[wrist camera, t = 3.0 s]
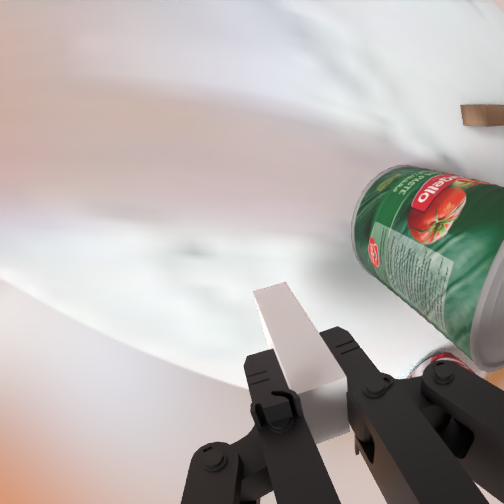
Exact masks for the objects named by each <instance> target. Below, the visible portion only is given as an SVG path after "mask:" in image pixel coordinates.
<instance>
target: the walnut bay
mask: <svg viewBox="0 0 504 504" xmlns="http://www.w3.org/2000/svg"><path fill="white" fill-rule="evenodd" d="M460 106H461V112H462V118H463V125H473V126H501V125H504V105H460Z"/></svg>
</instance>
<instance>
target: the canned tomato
mask: <svg viewBox="0 0 504 504" xmlns="http://www.w3.org/2000/svg"><path fill="white" fill-rule="evenodd" d="M351 239H352V245H353V250H354V252H355V255H356V257H357V259H358V261H359V262H360V264H361V266H362V267H363V268H364V269H365V270H366V271H367V272H368V273H369V274H371V275H372V276H374V277H376V278H377V279H378V280H379V281H380V282H381V283H382V284H384V285H385V286H387V287H388V288H389V289H390V290H391V291H393V292H394V293H395V294H396V295H397V296H399V297H400V298H401V299H402V300H403V301H404V302H406V303H407V304H408V305H409V306H410V307H411V308H413V309H414V310H416V311H417V312H418V313H419V315H421V316H423V317H424V318H425V319H426V320H427V321H428V322H429V323H431V324H432V325H433V326H434V327H435V328H436V329H437V330H438V331H440V332H441V333H442V334H443V335H444V336H445V337H446V338H447V339H449V340H450V341H451V342H453V343H454V345H455V346H456V347H457V348H459V349H460V350H461V351H462V352H464V353H465V354H466V355H467V356H468V357H469V358H470V359H472V360H473V362H474V363H475V364H476V365H477V367H478V368H479V369H481V370H483V371H486V372H489V371H496V370H499V369H501V368H503V367H504V187H501V186H498V185H494V184H489V183H486V182H481V181H478V180H475V179H469V178H465V177H460V176H456V175H453V174H447V173H444V172H438V171H432V170H428V169H421V168H417V167H413V166H396V167H392V168H389V169H387V170H385V171H383V172H381V173H380V174H379V175H377V176H376V177H375V178H374V179H373V180H371V182H370V183H369V184H368V185H367V187H366V188H365V189H364V190H363V192H362V194H361V196H360V198H359V200H358V202H357V204H356V207H355V210H354V213H353V219H352V224H351Z"/></svg>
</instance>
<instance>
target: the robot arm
mask: <svg viewBox="0 0 504 504" xmlns="http://www.w3.org/2000/svg"><path fill="white" fill-rule="evenodd" d="M253 294H254V297H255V301H256V305H257V308H258V312H259V316H260V320H261V323H262V327H263V331H264V334H265V338H266V341H267V344H268V347H269V350H266V351H263V352H260V353H256V354H253V355H249V356H247V358H246V361H245V364H244V370H245V374H246V378H247V383H248V387H249V391H250V395H251V399H252V403H251V410H250V411H251V415H252V417H253V420H254V422H255V425H254V427H253V429H252V430H251V431H250V432H249V434H248V435H246V436H245V437H244V438H242V439H240V440H239V441H237V442H235V443H233V444H231V445H229V444H227V443H224V442H214V443H208V444H206V445H204V446H202V447H200V448H199V449H198V450H197V451H196V452H195V453H194V455H193V457H192V459H191V463H190V467H189V471H188V475H187V479H186V484H185V488H184V492H183V497H182V501H181V504H260V498H261V497H262V496H264V495H266V494H268V493H269V492H271V491H273V490H274V494H275V497H276V501H277V504H341V503H340V500H339V498H338V495H337V493H336V491H335V489H334V486H333V484H332V481H331V479H330V477H329V475H328V472H327V470H326V467H325V465H324V463H323V460H322V458H321V456H320V453H319V451H318V448H317V446H316V444H317V443H320V442H323V441H326V440H329V439H332V438H334V437H337V436H340V435H342V434H345V433H347V432H349V431H350V428H349V424H350V425H351V427H352V429H353V431H354V433H355V453H356V455H358V454H359V451H360V452H361V454H362V456H363V458H364V460H365V462H366V464H367V466H368V467H369V470H370V471H371V473H372V475H373V477H374V479H375V481H376V483H377V485H378V486H379V488H380V490H381V492H382V494H383V496H384V498H385V500H386V502H387V504H489V502H488V501H487V500H486V498H485V497H484V495H483V494H482V493H481V491H480V490H479V488H478V487H477V486H476V484H475V483H474V482H476V483H477V484H478V485H480V486H481V487H482V488H483V489H485V490H486V491H487V492H489V493H490V494H491V495H493V496H494V497H496V498H497V499H498V500H499V501H501V502H502V503H504V391H503V390H501V389H500V388H498V387H496V386H494V385H492V384H491V383H489V382H488V381H486V380H484V379H483V378H481V377H479V376H478V375H476V374H474V373H472V372H471V371H469V370H467V369H466V368H464V367H462V366H461V365H459V364H457V363H455V362H453V361H450V360H438V361H434V362H432V363H430V364H429V365H427V367H426V368H425V369H424V371H423V375H422V376H418V377H413V378H408V379H394V378H393V377H392V376H390V375H388V374H385V373H381V372H380V371H379V370H378V369H377V368H376V366H375V365H374V364H373V363H372V361H371V360H370V359H369V357H368V356H367V355H366V354H365V352H364V351H363V350H362V348H360V346H359V345H358V343H357V342H356V341H355V340H354V338H353V337H352V336H351V334H350V333H349V332H348V331H346V330H344V329H342V328H340V327H338V326H337V327H334V328H331V329H328V330H326V331H323V332H320V333H318V331H317V330H316V328H315V327H314V325H313V323H312V322H311V320H310V319H309V317H308V316H307V314H306V313H305V311H304V309H303V308H302V306H301V305H300V303H299V302H298V300H297V299H296V297H295V296H294V294H293V292H292V291H291V289H290V288H289V286H288V285H287V283H286V282H284V283H281V284H277V285H274V286H271V287H267V288H264V289H260V290H257V291H253ZM473 481H474V482H473Z"/></svg>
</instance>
